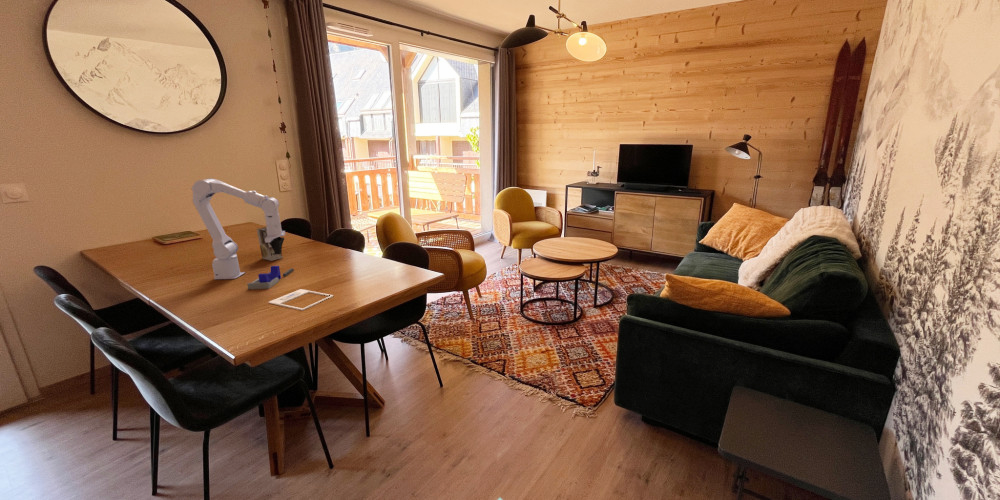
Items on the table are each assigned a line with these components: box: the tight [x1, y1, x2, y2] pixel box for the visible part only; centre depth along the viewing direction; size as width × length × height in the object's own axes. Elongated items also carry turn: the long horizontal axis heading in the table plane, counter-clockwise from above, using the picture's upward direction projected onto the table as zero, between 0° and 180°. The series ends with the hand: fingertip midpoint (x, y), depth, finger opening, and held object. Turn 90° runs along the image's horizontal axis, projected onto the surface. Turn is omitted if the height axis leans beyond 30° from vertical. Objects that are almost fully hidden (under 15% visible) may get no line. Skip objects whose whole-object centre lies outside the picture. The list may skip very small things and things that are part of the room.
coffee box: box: [256, 226, 283, 262], centre depth 208 cm, size 9×6×16 cm
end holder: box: [246, 277, 280, 290], centre depth 171 cm, size 8×9×2 cm
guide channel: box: [282, 268, 294, 277], centre depth 186 cm, size 8×8×1 cm
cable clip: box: [257, 265, 282, 282], centre depth 173 cm, size 12×4×6 cm, turn 4°
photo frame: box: [268, 288, 334, 312], centre depth 155 cm, size 15×1×18 cm
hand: (278, 253), depth 184 cm, fingers closed
